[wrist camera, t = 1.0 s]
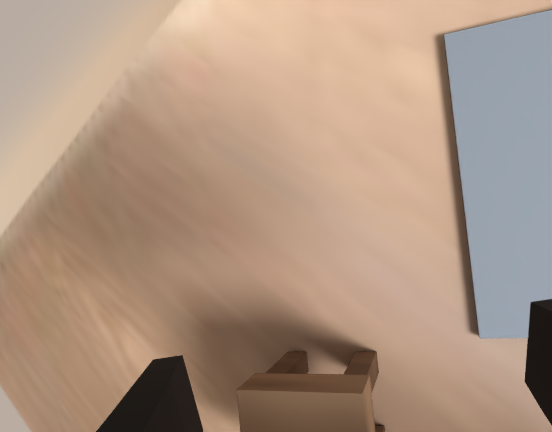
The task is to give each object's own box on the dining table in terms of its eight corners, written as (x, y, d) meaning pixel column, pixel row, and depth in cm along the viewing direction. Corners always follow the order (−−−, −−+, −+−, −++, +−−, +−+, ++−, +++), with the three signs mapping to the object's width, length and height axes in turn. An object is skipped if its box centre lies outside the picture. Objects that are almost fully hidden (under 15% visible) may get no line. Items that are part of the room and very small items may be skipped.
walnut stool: (391, 451, 21) (377, 535, 15) (293, 443, 23) (248, 518, 17) (380, 347, 21) (362, 393, 16) (284, 348, 23) (236, 390, 17)
